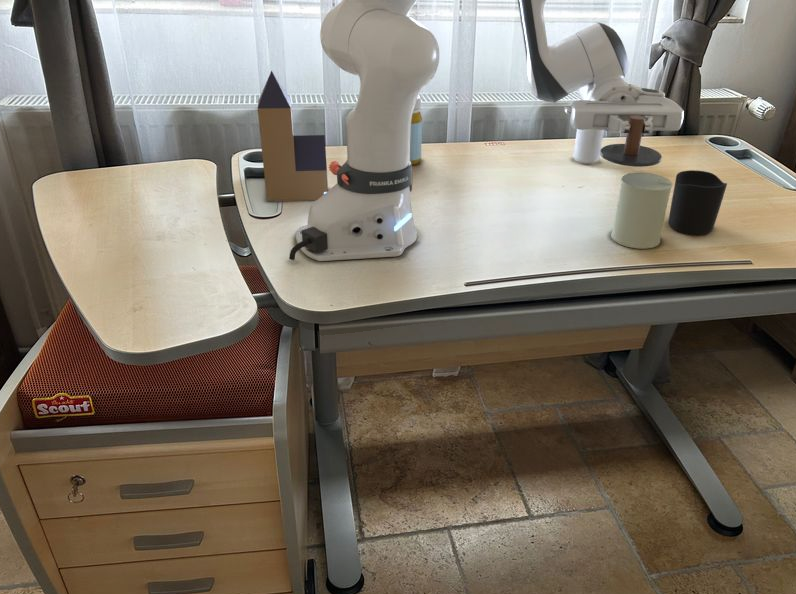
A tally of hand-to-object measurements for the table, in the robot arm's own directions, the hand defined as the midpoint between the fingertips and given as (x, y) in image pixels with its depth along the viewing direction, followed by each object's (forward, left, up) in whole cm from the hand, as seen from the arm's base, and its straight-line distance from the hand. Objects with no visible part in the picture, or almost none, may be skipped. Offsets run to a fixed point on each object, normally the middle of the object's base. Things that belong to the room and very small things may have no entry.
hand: (637, 128), depth 125 cm
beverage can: (+20, +41, -21) cm, 51 cm away
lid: (0, +1, -5) cm, 5 cm away
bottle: (-22, +54, -21) cm, 62 cm away
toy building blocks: (-50, +47, -21) cm, 72 cm away
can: (+4, -1, -21) cm, 22 cm away
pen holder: (+18, 0, -21) cm, 28 cm away
